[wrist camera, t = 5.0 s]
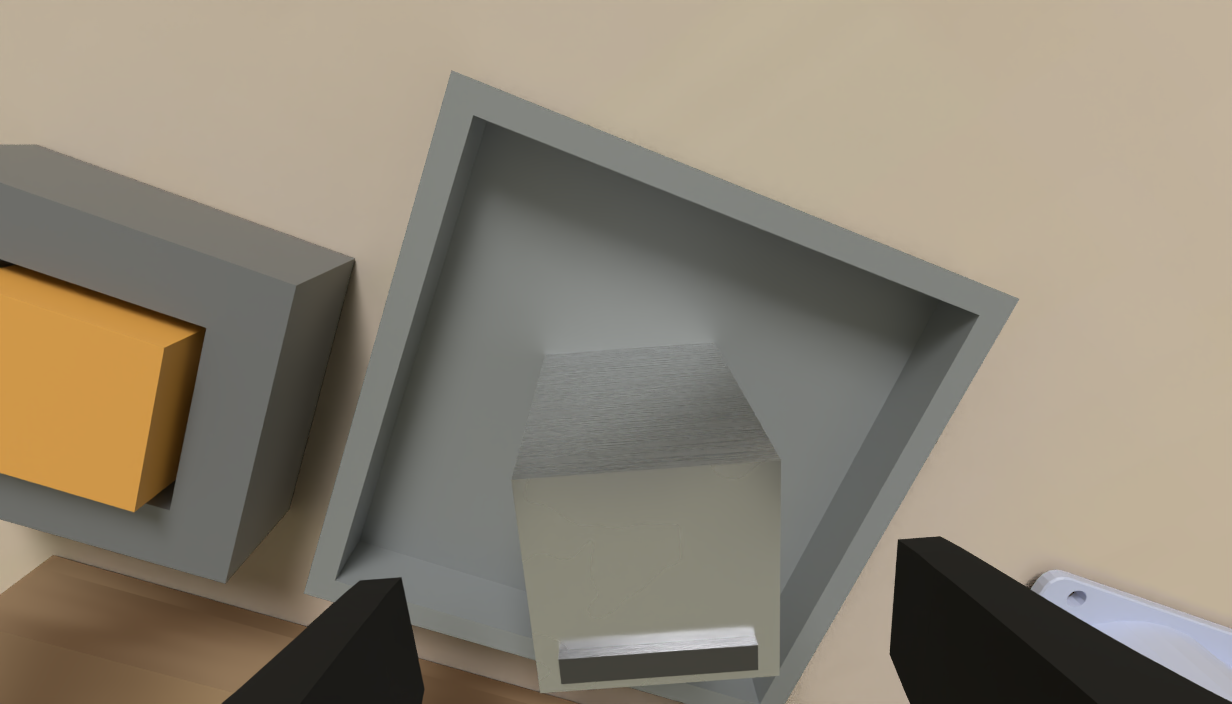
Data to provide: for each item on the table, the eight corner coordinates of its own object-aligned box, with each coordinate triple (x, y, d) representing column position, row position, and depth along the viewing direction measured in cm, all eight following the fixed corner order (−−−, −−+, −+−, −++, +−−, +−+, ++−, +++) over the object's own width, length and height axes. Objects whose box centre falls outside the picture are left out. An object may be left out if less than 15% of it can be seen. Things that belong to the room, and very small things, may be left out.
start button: (250, 307, 15) (164, 347, 12) (220, 444, 16) (134, 512, 13) (83, 250, 14) (-49, 278, 11) (63, 395, 15) (-63, 454, 12)
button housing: (354, 258, 15) (296, 285, 12) (289, 509, 17) (225, 583, 14) (35, 144, 14) (-109, 144, 11) (6, 422, 16) (-124, 483, 13)
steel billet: (714, 342, 15) (784, 466, 9) (718, 491, 17) (782, 684, 11) (545, 354, 15) (509, 486, 9) (561, 503, 17) (539, 703, 11)
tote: (967, 279, 15) (1019, 299, 13) (753, 668, 19) (770, 728, 17) (472, 80, 14) (451, 70, 12) (336, 544, 17) (303, 593, 15)
